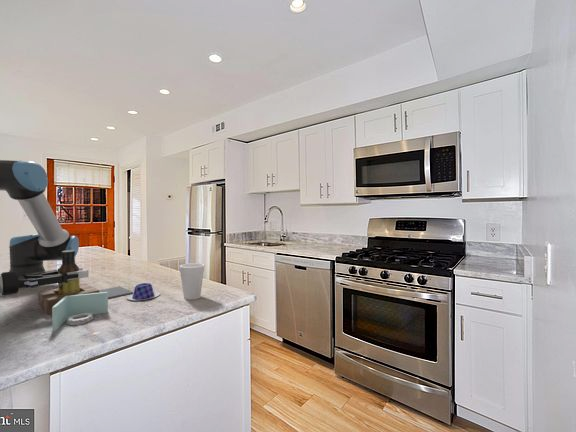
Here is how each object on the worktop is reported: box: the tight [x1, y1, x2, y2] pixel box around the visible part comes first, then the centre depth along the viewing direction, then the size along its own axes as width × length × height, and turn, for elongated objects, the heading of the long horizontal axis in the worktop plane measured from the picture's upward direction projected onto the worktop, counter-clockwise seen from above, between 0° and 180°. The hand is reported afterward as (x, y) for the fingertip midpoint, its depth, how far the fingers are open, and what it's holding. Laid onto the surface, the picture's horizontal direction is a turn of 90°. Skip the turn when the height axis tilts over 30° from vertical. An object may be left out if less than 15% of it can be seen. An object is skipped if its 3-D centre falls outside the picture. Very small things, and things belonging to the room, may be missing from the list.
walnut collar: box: [37, 283, 100, 316], centre depth 106 cm, size 15×15×5 cm
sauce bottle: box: [57, 250, 80, 295], centre depth 106 cm, size 6×6×20 cm
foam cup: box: [179, 262, 205, 301], centre depth 115 cm, size 10×9×13 cm
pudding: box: [126, 282, 161, 301], centre depth 116 cm, size 12×12×5 cm
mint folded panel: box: [51, 292, 109, 332], centre depth 91 cm, size 12×12×8 cm
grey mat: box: [98, 285, 134, 300], centre depth 120 cm, size 14×12×1 cm
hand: (85, 272), depth 110 cm, fingers closed on sauce bottle, 6 cm apart
